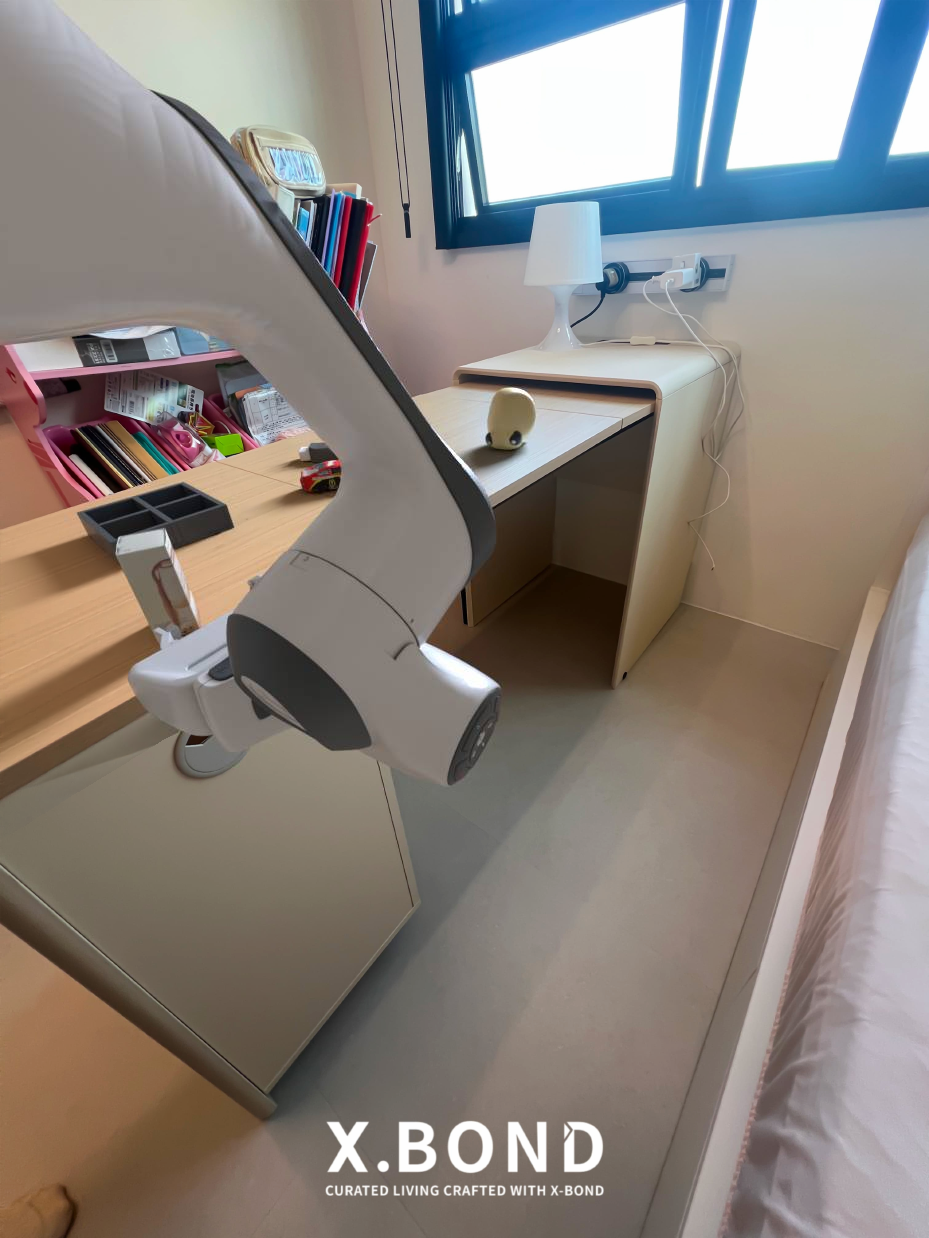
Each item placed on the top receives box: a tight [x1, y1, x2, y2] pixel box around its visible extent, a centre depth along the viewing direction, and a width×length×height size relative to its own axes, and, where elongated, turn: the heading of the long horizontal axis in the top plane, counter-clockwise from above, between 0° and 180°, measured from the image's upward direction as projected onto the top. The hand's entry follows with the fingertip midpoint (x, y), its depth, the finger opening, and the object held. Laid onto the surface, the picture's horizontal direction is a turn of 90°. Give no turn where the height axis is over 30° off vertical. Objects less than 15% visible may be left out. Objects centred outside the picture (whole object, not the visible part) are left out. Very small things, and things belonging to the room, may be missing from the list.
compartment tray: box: [76, 481, 235, 564], centre depth 74 cm, size 15×15×4 cm
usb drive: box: [298, 441, 339, 464], centre depth 99 cm, size 5×12×3 cm, turn 95°
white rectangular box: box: [116, 528, 201, 641], centre depth 52 cm, size 5×4×10 cm
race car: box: [299, 460, 342, 494], centre depth 86 cm, size 13×5×4 cm, turn 109°
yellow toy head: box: [484, 387, 537, 451], centre depth 99 cm, size 10×12×11 cm
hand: (212, 606), depth 47 cm, fingers open, 8 cm apart
